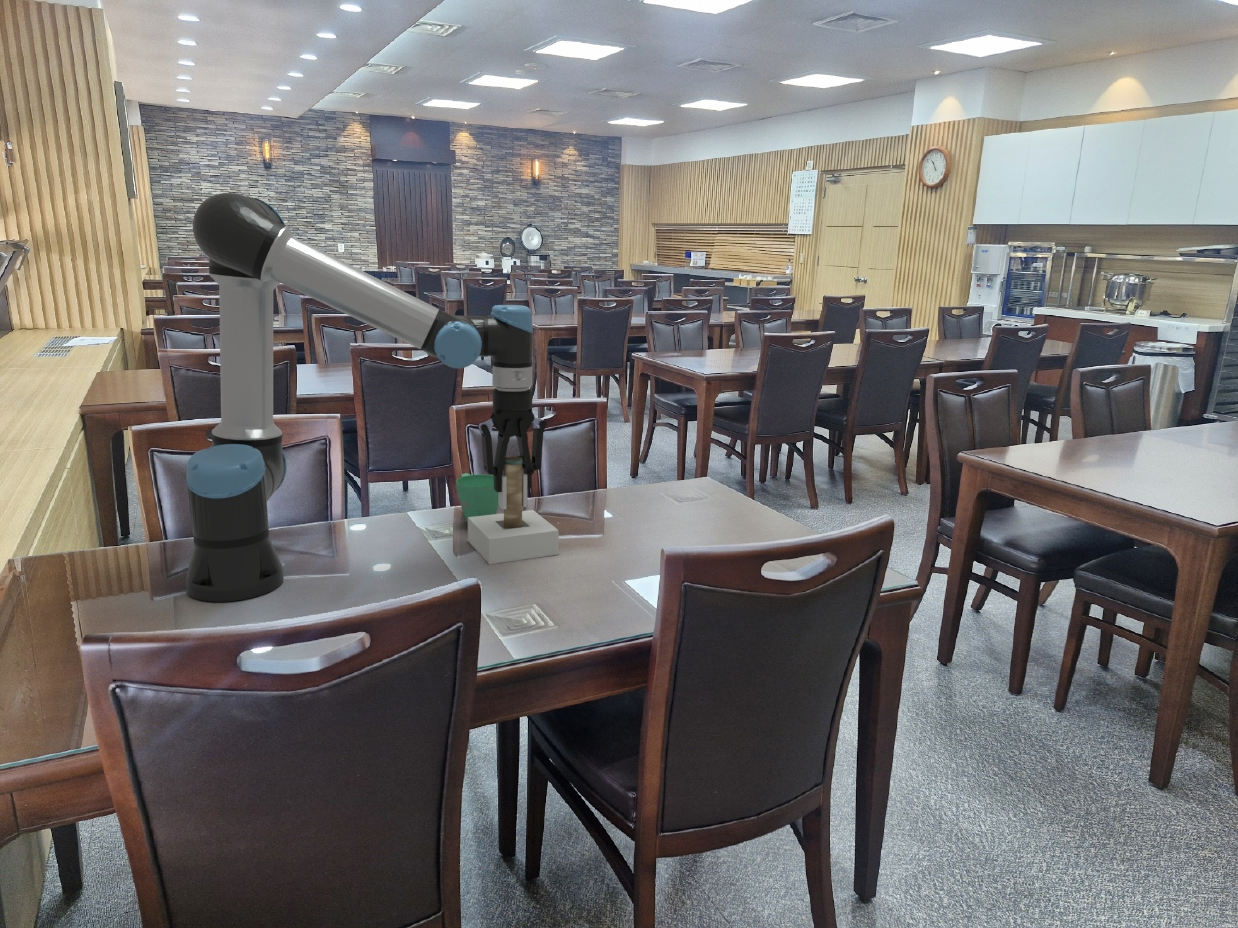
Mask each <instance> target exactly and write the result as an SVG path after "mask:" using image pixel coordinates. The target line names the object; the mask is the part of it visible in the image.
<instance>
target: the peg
mask: <svg viewBox="0 0 1238 928" xmlns="http://www.w3.org/2000/svg"><path fill="white" fill-rule="evenodd" d="M522 471H523V468H522V457H521V456H520V455H517V454H516V455H515V454H513V455H511V454H509V455H506V458H505V464H504V470H503V474H504V475H505V476H506V477H507V509H503V513H504V527H505V528H507V529H512V528H521V527H522V511H523V506H522Z"/></svg>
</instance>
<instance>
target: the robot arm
mask: <svg viewBox="0 0 1238 928" xmlns="http://www.w3.org/2000/svg"><path fill="white" fill-rule="evenodd" d="M192 220H193V221H192V232H193V237H194V239H195V242H196V244H197V246H198V248H199V249H200V250H201V251H202V253H203V254H204V255H205V256H206V257H208V271H209V272H208V275H209V277H210V278H212V280H213V281H215V282H216V284H217V285H218V290H219V298H218V301H219V353H220V354H219V356H220V357H219V358H220V359H219V360H220V361H219V363H220V367H219V368H220V369H219V370H220V371H219V372H220V374H219V375H220V376H219V377H220V422H219V423H218V424H217V425H216V426H215V427H214V428H212V430H211V446H209V447H208V448H204V449H200V450H198V451H196V452H195V453H193V454H192V455H191V456H190V457H189V458H188V460H187V463H186V474H185V482H186V485H187V491H188V493H187V494H188V501H189V511H190V520H191V528H192V529H191V530H192V538H193V540H192V541H193V549H192V553H191V557H190V560H189V565H188V567H187V572H186V576H185V588H186V593H187V595H188V596H190V597H191V598H193V599H196V600H200V601H203V602H213V603H214V602H215V603H216V602H218V603H220V602H223V603H225V602H234V601H235V602H236V601H241V600H242V601H243V600H248V599H251V598H257V597H259V596H262V595H265V594H267V593H269V592H271V591H274V590H276V589H277V588H279V586H281V585H282V583H283V582H284V567H283V565H282V562H281V560H280V558H279V556H278V554H277V551H276V549H275V547H274V545H273V543H272V540H271V537H270V530H269V529H270V528H269V527H270V526H269V525H270V524H269V515H268V514H269V513H268V501H269V500H270V498H271V497H272V496H273V495H274V494H275V493H276V492H277V490H279V488H280V487H281V486H282V484H283V482H284V480H285V477H286V475H287V467H288V465H287V464H288V463H287V462H288V461H287V457H286V454H285V451H284V448H283V430H282V429H280V428H279V427H278V426H277V425H276V424H275V421H274V290H275V289H276V288H277V287H278V286H279V285H280V284H281V285H284V286H286V287H289V288H290V289H292V290H294V291H296V292H298V293H301V294H303V295H305V296H307V297H309V298H311V299H313V300H316V301H317V302H320V303H322V304H324V305H327V306H328V307H330V308H331V309H332V308H333V309H335V310H337V311H339V312H340V313H343V314H345V315H347V316H348V317H352V318H354V319H356V320H358V321H360V322H362V323H364V324H366V325H369V326H370V327H372V328H375V329H377V330H379V331H380V332H383V333H385V334H388V335H389V336H391V337H394V338H396V339H398V340H399V341H402V342H405V343H407V344H408V345H410V346H413V347H414V348H417V349H419V350H421V351H422V352H425V353H426V354H428V355H429V356H431V357H435V358H437V359H438V360H439V361H441V363H442V364H444V365H445V366H447V367H449V368H452V369H465V368H467V367H469V366H471V365H473V364H474V363H475V362H476V361H477V359H478V358H479V357H483V358H485V357H491V359H492V386H493V387H494V389H493V390H492V414H491V415H490V418H489V419H488V420H486V421H484V422H482V421H480V422H478V424H477V428H478V429H479V432H480V434H481V447H482V461H483V470H484V471H485V472H486V473H487V475H493V476H494V490H495V491H496V492H498V503H499V505H498V507H500V508H501V509H502V510H504V509H507V477H506V476H505V475H504V464H505V458H506V456H507V450H508V445H509V442H510V438H513V437H516V441H517V446H518V451H519V456H521V457H522V508H526V507H528V490H531V489H532V485H533V484H532V483H533V482H532V481H533V480H532V477H533V476H532V475H533V474H534V473H535V471H540V470H541V469H542V461H543V460H542V457H543V446H544V445H543V443H544V433H545V432H544V431H545V429H546V428H547V425H548V422H547V421H546V420H545V419H543V418H541V417H540V418H539V417H538V418H537V417H536V416H535V414H534V412H533V390H532V389H531V387H532V386H533V355H534V354H533V353H534V351H533V348H534V347H533V346H534V345H533V344H534V342H533V340H534V330H533V313H532V310H531V308H530V307H528V306H526V305H521V304H518V305H517V304H497V305H494V306H492V307H491V312H490V315H483V316H481V315H480V316H479V315H455V314H453V315H452V314H449V313H448V312H445V311H444V310H441V309H439V308H438V307H436V306H434V305H432V304H430V303H427V302H426V301H423V300H421V299H419V298H418V297H415V296H414V295H411V294H409V293H407V292H405V291H403V290H401V289H399V288H397V287H396V286H393V285H392V284H389V283H388V282H386V281H383V280H381V279H380V278H377V277H375V276H373V275H372V274H369V273H367V272H365V271H363V270H361V269H360V268H357V267H355V266H353V265H351V264H350V263H347V262H345V261H344V260H341V259H339V258H337V257H335V256H333V255H332V254H329V253H327V252H326V251H323V250H321V249H319V248H317V247H315V246H313V245H312V244H309V243H307V242H305V241H303V240H302V239H299V238H297V237H295V236H294V235H293V232H292V231H291V228H290V227H289V226H288V225H286V223H285V221H284V219H283V218H282V216H281V215H280V214H279V212H278V211H277V210H276V209H275V208H274V207H273V206H271V204H269V203H267V202H265V201H264V200H262V199H260V198H258V197H253V196H249V195H248V196H247V195H243V194H238V193H235V192H234V193H233V192H221V193H216V194H215V195H211V196H209V197H208V198H206V199H205V200H204V201H203V202H202V203H201V204H200V205H199V206H198V207H197V209H196V211H195V213H194V215H193V218H192ZM493 426H494V427H495V429H496V431H497V432H498V433H497V444H496V450H495V456H493V455H494V454H493V452H494V451H493V440H492V435H491V433H492V431H493ZM531 426H532V428H533V431H532V443H531V453H530V449H529V448H530V447H529V443H528V442H529V441H528V438H529V437H528V430H529V428H530V427H531Z"/></svg>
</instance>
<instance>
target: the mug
mask: <svg viewBox="0 0 1238 928" xmlns="http://www.w3.org/2000/svg"><path fill="white" fill-rule="evenodd" d="M455 486H456V490H457V496H458V499H459V502H460V503H459V504H460V507H461V510H462V512H463V515H464V517H465V519H466V522H467V524H468V517H475V516H484V515H493V514H497V511H498V508H499V503H498V492H496V491H495V490H494V475H492V474H470V473H468V472H466V473H461V475H460V476H459V478H457V479H456V482H455Z"/></svg>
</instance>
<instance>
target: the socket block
mask: <svg viewBox="0 0 1238 928" xmlns="http://www.w3.org/2000/svg"><path fill="white" fill-rule="evenodd" d="M559 532H560V531H559V530H558V528H556V527H555V526H554V525H553V524H551V523H550V522H549V521H547V520H546V519H545V518H543V516H541V515H540V514H539V513H537V512H536V511H535V510H533V509H529V510H522V527H521V528H512V529H507V528H505V527H504V512H502V513H496V514H493V515H484V516H475V517H468V523H467V541H468V543H469V544H470V545H471V546H472V547H473V548H474V549H475V551H477V552H478V553H479V555H480V556H481V557H482V558H483V559H484V560H485V561H486V562H487V563H488V565H495V564H500V563H501V564H502V563H509V562H516V561H523V560H529V559H536V558H544V557H545V558H546V557H550V556H558V555H559V545H560V544H559V539H560V537H559V535H560V533H559Z"/></svg>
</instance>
